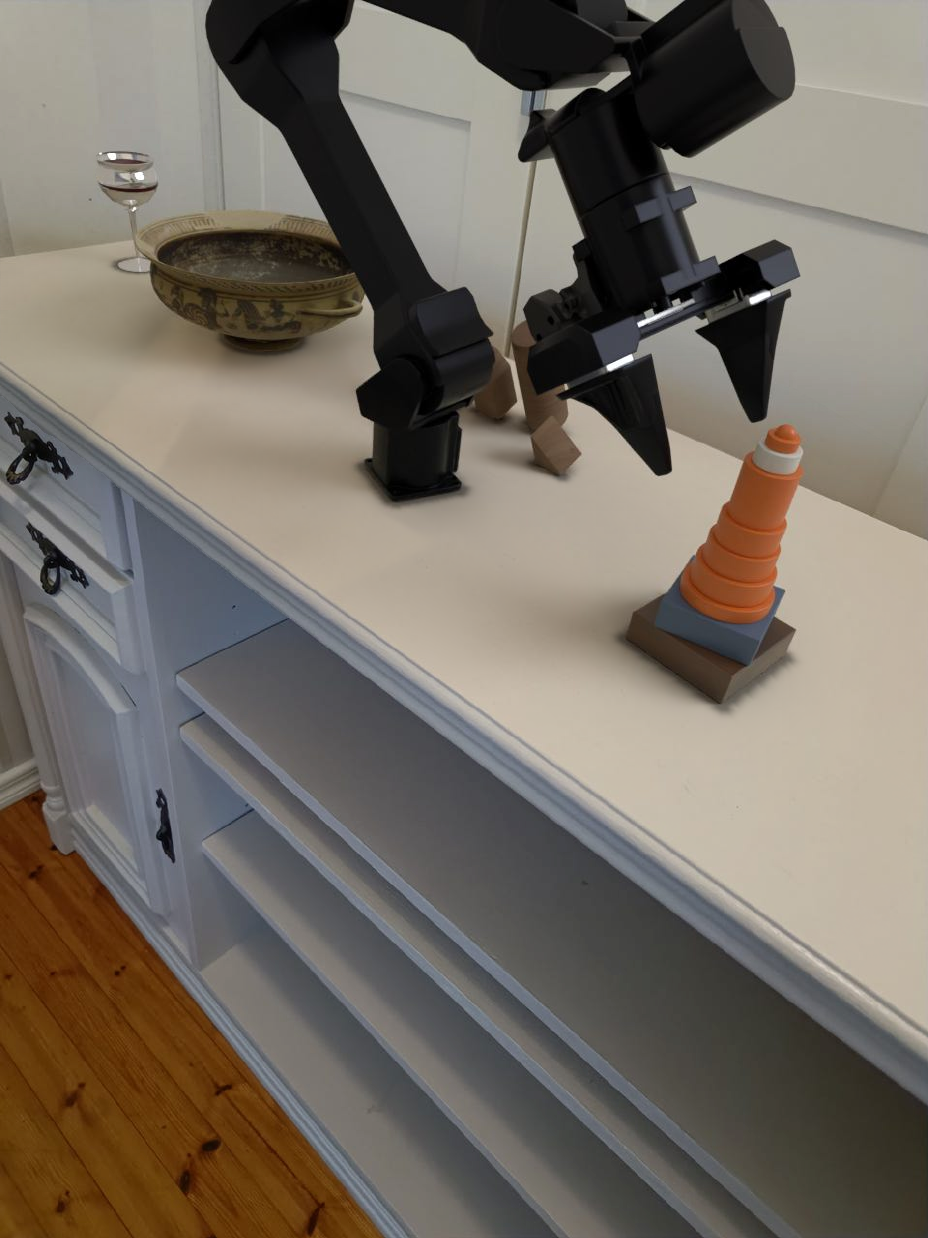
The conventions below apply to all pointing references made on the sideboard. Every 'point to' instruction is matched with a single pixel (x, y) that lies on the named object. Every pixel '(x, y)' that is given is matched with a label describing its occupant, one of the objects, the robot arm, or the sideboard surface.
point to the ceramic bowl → (252, 275)
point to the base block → (706, 654)
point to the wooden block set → (530, 405)
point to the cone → (747, 535)
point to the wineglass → (128, 189)
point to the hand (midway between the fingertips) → (713, 446)
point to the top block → (713, 626)
